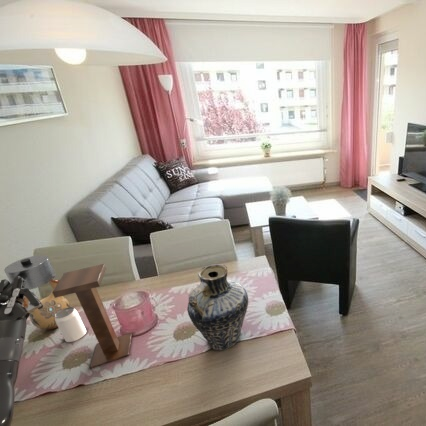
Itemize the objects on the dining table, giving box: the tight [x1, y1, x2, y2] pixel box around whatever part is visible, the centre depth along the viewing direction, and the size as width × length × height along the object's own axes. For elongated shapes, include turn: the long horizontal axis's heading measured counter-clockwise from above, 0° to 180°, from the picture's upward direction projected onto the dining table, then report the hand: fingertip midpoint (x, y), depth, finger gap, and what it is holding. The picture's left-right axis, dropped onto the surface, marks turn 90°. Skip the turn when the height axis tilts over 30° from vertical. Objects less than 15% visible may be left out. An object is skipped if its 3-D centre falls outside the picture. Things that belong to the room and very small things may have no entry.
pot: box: [0, 254, 57, 303], centre depth 78 cm, size 9×20×7 cm, turn 26°
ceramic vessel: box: [23, 279, 72, 331], centre depth 112 cm, size 16×9×25 cm, turn 153°
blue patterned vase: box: [187, 263, 249, 351], centre depth 100 cm, size 21×19×30 cm
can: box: [55, 306, 87, 343], centre depth 108 cm, size 6×6×12 cm
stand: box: [51, 263, 133, 369], centre depth 97 cm, size 11×11×32 cm
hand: (12, 279), depth 74 cm, fingers closed on pot
